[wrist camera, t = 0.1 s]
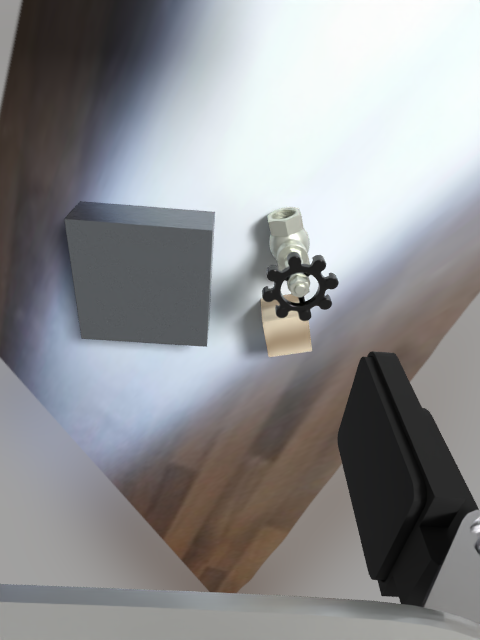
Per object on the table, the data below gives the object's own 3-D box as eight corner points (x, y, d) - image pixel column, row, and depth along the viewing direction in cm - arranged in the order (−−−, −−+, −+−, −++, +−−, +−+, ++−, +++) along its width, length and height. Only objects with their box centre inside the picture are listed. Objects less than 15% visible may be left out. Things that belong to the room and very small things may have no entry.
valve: (264, 268, 50) (270, 328, 40) (251, 214, 46) (254, 265, 36) (321, 255, 49) (342, 314, 39) (313, 199, 46) (333, 247, 36)
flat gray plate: (80, 201, 46) (64, 219, 41) (214, 212, 46) (212, 230, 42) (93, 314, 53) (81, 338, 49) (209, 321, 54) (206, 346, 50)
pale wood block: (260, 298, 52) (262, 322, 48) (302, 292, 52) (307, 315, 48) (266, 332, 55) (268, 357, 51) (306, 326, 55) (311, 351, 50)
